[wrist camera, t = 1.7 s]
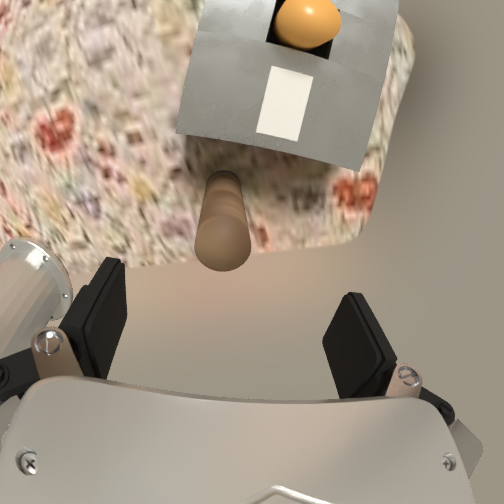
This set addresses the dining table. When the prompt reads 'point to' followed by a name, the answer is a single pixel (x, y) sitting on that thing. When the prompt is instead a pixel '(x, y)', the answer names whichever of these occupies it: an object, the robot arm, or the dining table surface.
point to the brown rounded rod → (223, 224)
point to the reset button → (306, 24)
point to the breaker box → (288, 80)
